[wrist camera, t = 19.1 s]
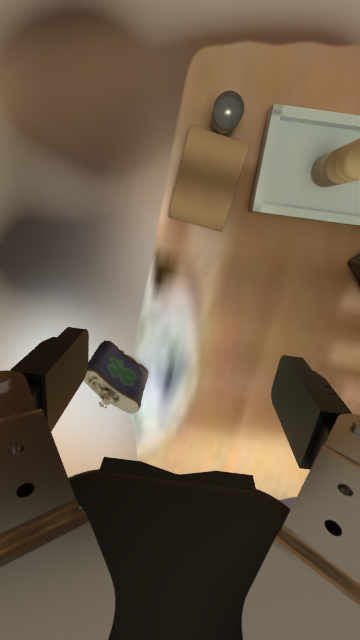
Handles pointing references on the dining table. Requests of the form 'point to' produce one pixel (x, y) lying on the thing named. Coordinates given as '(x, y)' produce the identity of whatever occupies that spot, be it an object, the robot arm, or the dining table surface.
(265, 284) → the dining table surface
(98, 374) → the flask
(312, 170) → the tan cylinder
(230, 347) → the dining table surface
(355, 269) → the beverage carton
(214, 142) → the tan flat block
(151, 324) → the dining table surface
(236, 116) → the stop post
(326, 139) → the tray
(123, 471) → the robot arm
